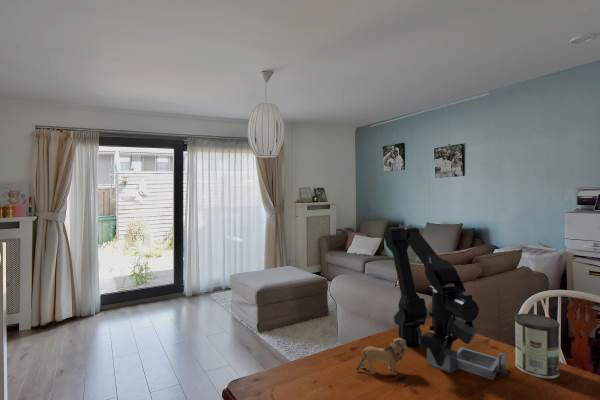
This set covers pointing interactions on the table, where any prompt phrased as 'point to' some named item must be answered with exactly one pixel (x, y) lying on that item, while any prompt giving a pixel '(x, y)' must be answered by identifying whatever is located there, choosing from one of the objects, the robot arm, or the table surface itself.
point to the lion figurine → (384, 355)
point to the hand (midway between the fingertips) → (442, 362)
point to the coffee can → (537, 345)
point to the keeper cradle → (481, 363)
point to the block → (444, 360)
